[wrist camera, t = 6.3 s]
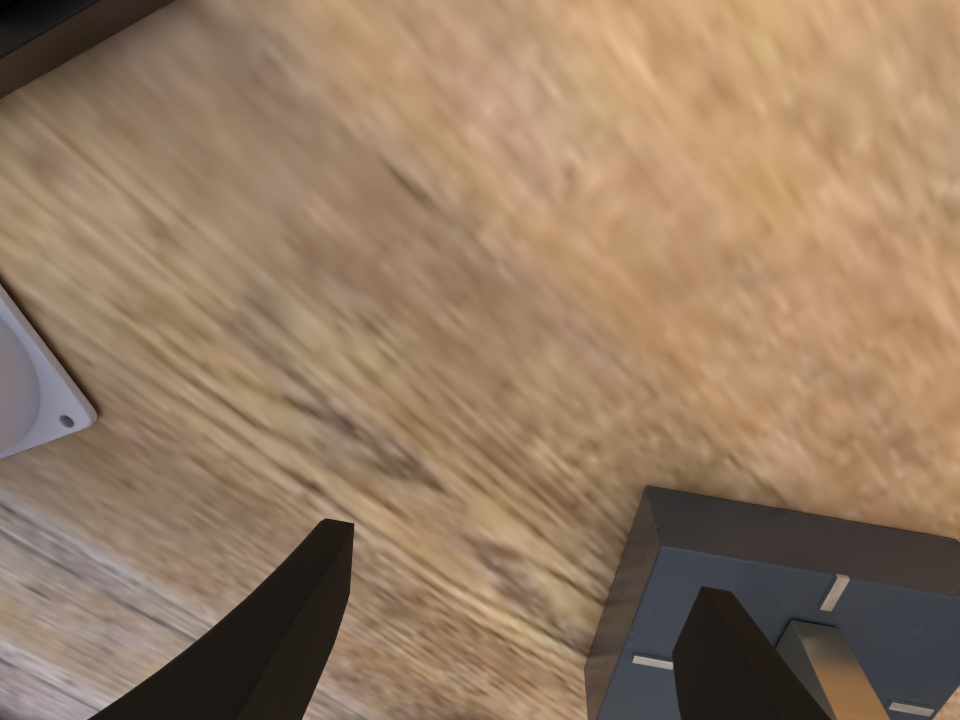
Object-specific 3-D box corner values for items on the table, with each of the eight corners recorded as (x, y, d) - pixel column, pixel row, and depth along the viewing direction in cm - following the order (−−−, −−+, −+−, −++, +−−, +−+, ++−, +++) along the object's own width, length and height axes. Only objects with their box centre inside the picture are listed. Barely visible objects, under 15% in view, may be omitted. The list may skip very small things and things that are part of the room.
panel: (582, 669, 25) (588, 745, 22) (646, 482, 20) (663, 546, 17) (837, 716, 25) (877, 798, 22) (959, 536, 20) (1028, 610, 17)
